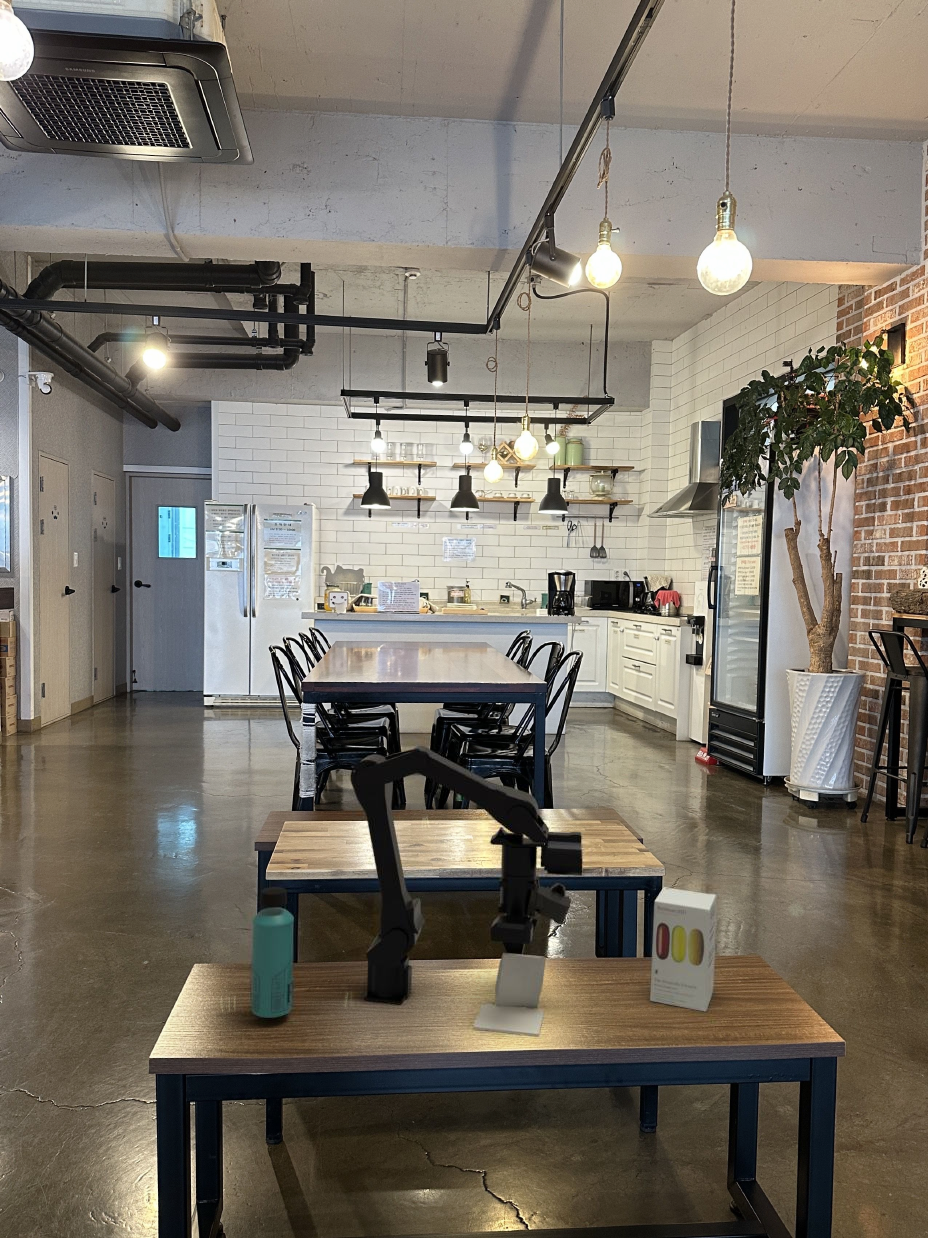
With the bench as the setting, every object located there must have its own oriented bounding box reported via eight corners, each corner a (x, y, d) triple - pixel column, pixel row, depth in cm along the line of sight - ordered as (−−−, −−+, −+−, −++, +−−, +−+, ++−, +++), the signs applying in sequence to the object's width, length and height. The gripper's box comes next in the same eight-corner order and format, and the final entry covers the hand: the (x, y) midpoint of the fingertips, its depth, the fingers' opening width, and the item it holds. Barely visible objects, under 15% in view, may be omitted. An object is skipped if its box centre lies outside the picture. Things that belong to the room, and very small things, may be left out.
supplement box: (648, 1002, 151) (651, 900, 151) (658, 981, 160) (661, 885, 160) (708, 1013, 147) (711, 908, 147) (714, 991, 156) (717, 893, 156)
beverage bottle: (292, 1027, 138) (295, 895, 138) (247, 1029, 137) (251, 896, 137) (293, 1008, 145) (296, 882, 144) (250, 1010, 143) (253, 883, 143)
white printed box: (537, 1009, 147) (546, 968, 142) (495, 1005, 147) (503, 964, 142) (536, 989, 150) (545, 948, 145) (495, 985, 150) (503, 944, 145)
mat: (473, 1029, 139) (473, 1026, 139) (482, 1006, 148) (482, 1003, 148) (538, 1037, 137) (538, 1034, 137) (544, 1013, 146) (544, 1010, 146)
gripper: (564, 893, 138) (561, 996, 138) (572, 860, 156) (569, 951, 156) (491, 887, 140) (488, 989, 140) (507, 855, 158) (505, 945, 158)
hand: (516, 967), depth 148 cm, fingers closed
